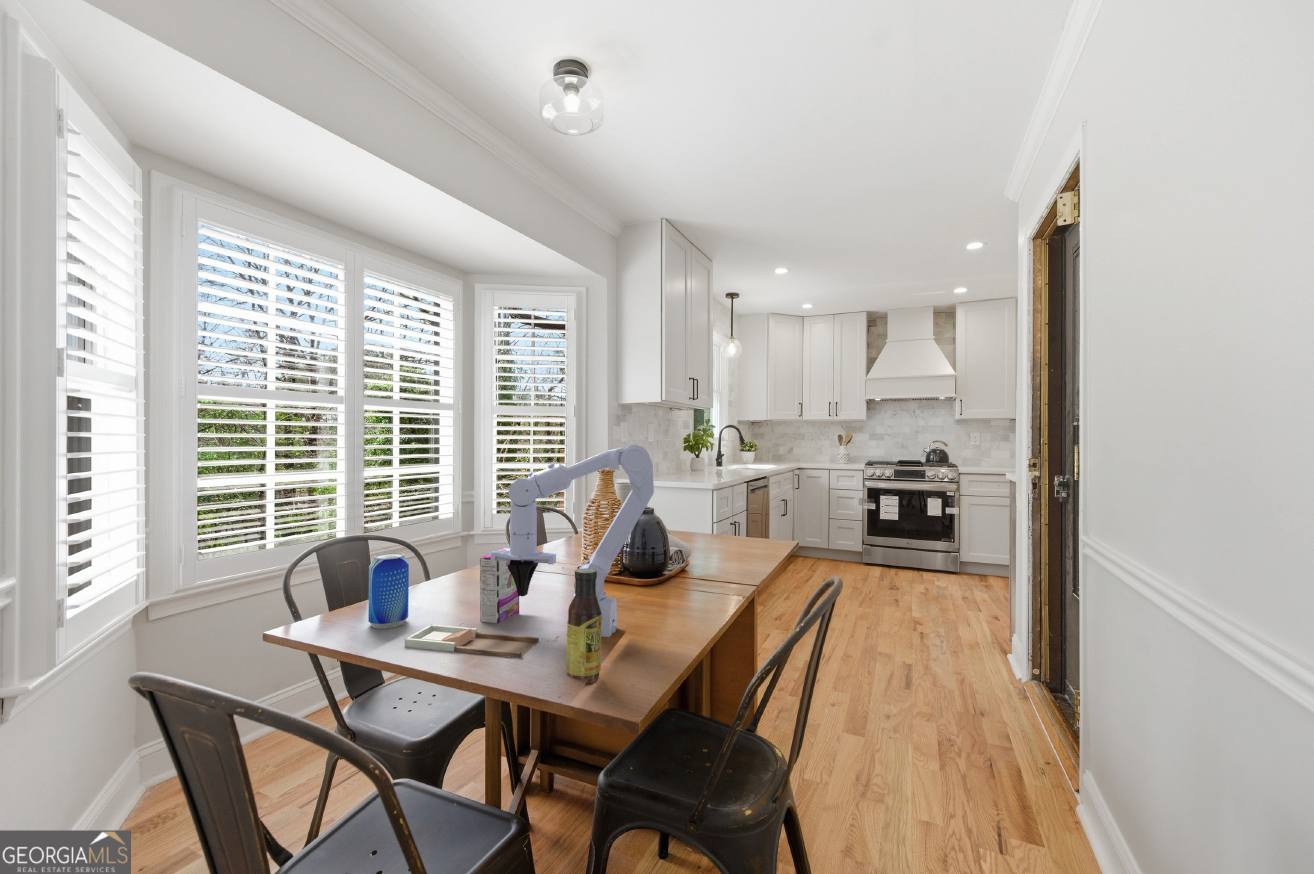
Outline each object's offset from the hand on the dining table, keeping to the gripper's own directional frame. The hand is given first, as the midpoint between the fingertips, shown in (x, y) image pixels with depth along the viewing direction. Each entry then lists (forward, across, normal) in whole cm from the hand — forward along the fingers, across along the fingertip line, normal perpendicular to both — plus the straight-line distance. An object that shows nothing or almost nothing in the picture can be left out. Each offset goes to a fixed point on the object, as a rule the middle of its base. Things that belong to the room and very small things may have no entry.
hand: (522, 594), depth 124 cm
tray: (+9, -14, -9) cm, 19 cm away
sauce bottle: (+10, +20, -17) cm, 28 cm away
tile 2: (+8, -10, -9) cm, 16 cm away
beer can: (+10, -34, +1) cm, 35 cm away
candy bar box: (+10, -10, +9) cm, 17 cm away
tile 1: (+9, -15, -9) cm, 20 cm away
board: (+9, -1, -9) cm, 13 cm away
